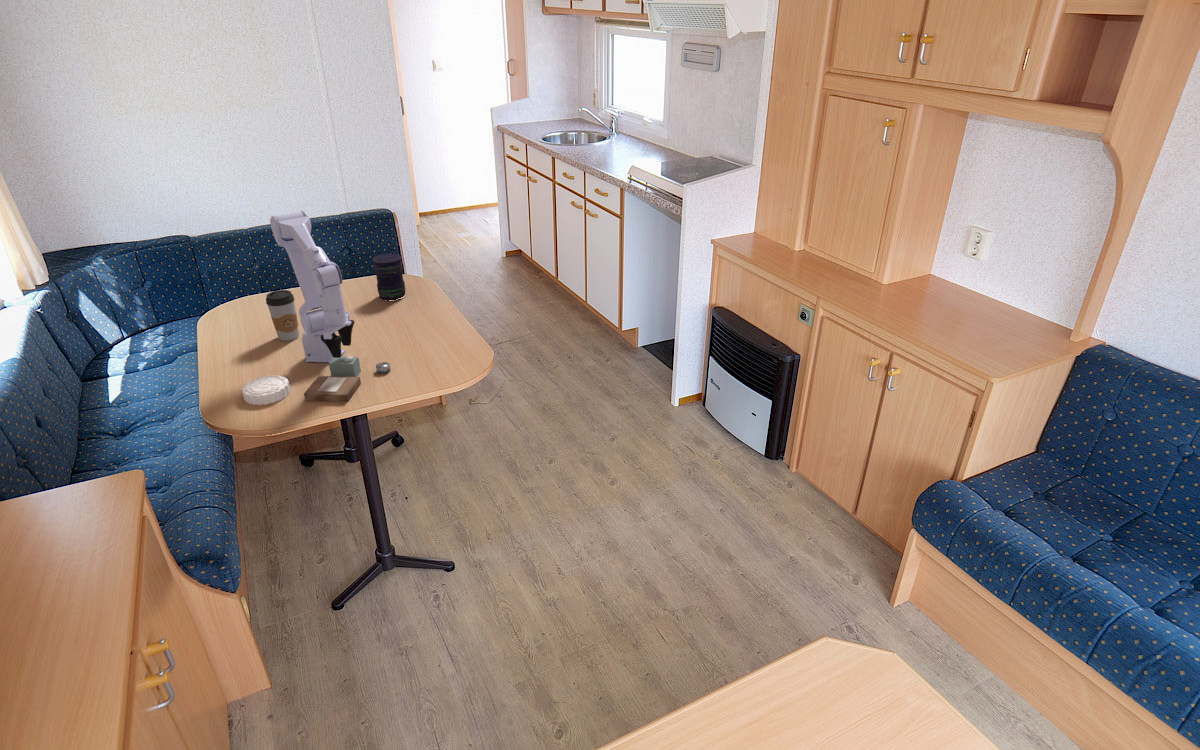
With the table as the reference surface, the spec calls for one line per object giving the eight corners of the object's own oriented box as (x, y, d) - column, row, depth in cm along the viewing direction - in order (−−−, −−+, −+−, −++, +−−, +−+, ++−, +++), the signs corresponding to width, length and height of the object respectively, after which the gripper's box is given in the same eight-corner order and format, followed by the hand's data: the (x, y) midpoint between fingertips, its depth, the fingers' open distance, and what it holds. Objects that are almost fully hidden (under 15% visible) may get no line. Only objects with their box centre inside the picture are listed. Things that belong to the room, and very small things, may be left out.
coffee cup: (280, 345, 218) (269, 301, 211) (271, 336, 224) (261, 293, 216) (306, 338, 223) (296, 295, 215) (297, 329, 228) (288, 287, 221)
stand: (305, 400, 188) (303, 392, 187) (319, 382, 197) (318, 375, 196) (348, 401, 188) (346, 393, 187) (361, 383, 197) (359, 376, 195)
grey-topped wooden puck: (374, 374, 202) (373, 368, 201) (379, 367, 205) (378, 362, 204) (388, 374, 202) (387, 368, 201) (392, 368, 205) (391, 362, 204)
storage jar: (399, 289, 260) (394, 251, 253) (411, 297, 253) (405, 258, 246) (374, 295, 255) (368, 257, 247) (385, 303, 248) (379, 264, 241)
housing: (332, 378, 199) (328, 361, 197) (337, 371, 203) (334, 353, 201) (355, 379, 199) (352, 361, 196) (361, 371, 203) (357, 354, 200)
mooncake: (271, 408, 185) (268, 397, 183) (234, 402, 188) (231, 391, 186) (300, 387, 195) (297, 376, 193) (264, 381, 198) (261, 370, 196)
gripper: (337, 318, 184) (346, 363, 191) (356, 297, 197) (364, 340, 204) (311, 317, 185) (321, 362, 191) (332, 297, 197) (341, 339, 204)
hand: (342, 351), depth 197 cm, fingers open, 7 cm apart
